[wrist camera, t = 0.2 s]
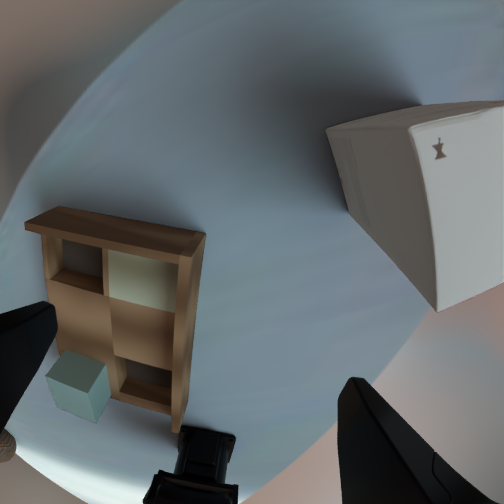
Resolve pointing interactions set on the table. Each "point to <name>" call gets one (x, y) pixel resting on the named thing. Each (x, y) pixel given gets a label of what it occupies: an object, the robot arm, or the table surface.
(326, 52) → the table surface
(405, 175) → the small box
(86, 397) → the block
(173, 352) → the box
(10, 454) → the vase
